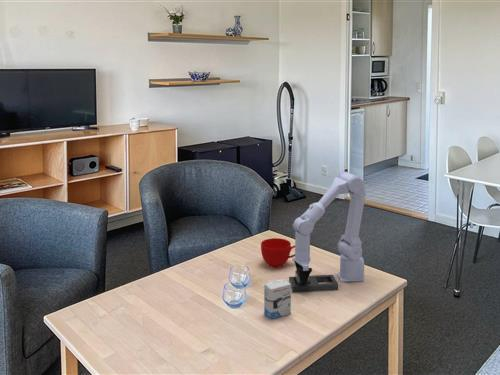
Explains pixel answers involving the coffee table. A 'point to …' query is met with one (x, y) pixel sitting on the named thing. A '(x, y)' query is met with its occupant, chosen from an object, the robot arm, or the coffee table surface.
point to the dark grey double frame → (315, 284)
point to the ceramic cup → (276, 251)
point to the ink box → (277, 298)
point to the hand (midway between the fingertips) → (302, 279)
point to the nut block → (298, 278)
